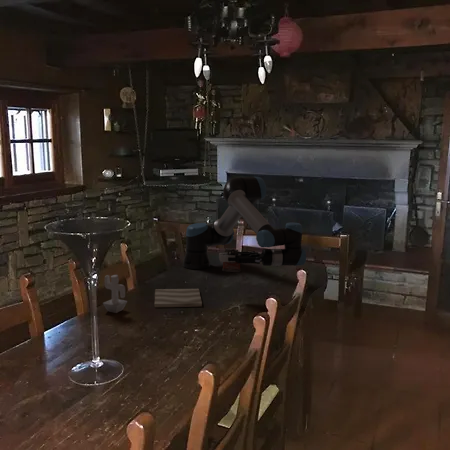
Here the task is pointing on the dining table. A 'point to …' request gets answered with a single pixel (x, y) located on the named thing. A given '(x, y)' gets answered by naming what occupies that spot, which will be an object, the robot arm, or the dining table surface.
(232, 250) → the lighter
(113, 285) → the figurine
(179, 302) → the board
